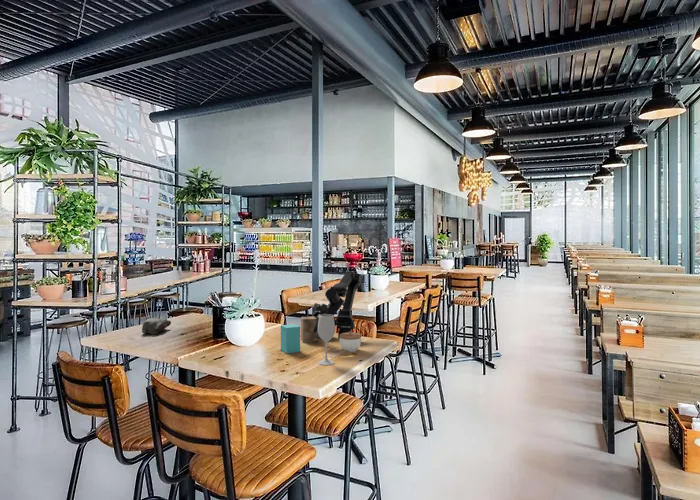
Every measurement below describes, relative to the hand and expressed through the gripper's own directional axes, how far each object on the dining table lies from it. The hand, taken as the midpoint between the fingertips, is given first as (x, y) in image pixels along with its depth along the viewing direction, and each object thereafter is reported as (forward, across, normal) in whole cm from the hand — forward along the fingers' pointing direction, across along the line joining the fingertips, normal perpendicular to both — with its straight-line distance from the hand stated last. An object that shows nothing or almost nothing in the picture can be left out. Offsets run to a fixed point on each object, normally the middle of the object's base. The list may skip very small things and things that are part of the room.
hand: (313, 331), depth 214 cm
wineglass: (+10, +24, +3) cm, 26 cm away
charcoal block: (-4, -20, +14) cm, 25 cm away
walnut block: (+3, -15, +8) cm, 17 cm away
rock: (+49, -79, -42) cm, 102 cm away
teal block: (+14, 0, -4) cm, 15 cm away
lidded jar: (-4, +10, +17) cm, 20 cm away
